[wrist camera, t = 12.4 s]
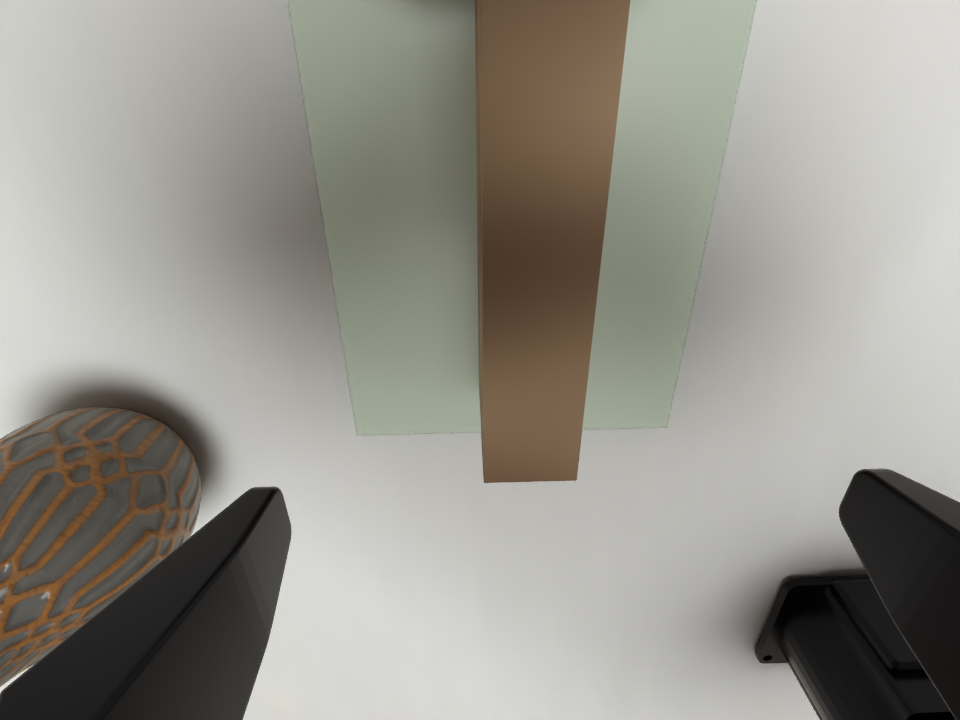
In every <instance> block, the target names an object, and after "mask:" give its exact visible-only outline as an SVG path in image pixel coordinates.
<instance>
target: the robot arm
mask: <svg viewBox="0 0 960 720" xmlns="http://www.w3.org/2000/svg"><path fill="white" fill-rule="evenodd" d="M839 517H840V521H841V523H842V525H843V527H844V529H845V531H846V533H847V535H848V537H849V539H850V541H851V543H852V545H853V546H854V548H855V550H856V552H857V554H858V556H859V558H860V560H861V562H862V564H863V566H864V568H865V569H866V571H867V573H868V575H869V576H857V577H826V578H796V579H791V580H788V581H787V582H786V583H785V584H784V585H783V587H782V589H781V592H780V594H779V596H778V599H777V601H776V603H775V606H774V608H773V610H772V613H771V615H770V617H769V620H768V622H767V624H766V627H765V629H764V631H763V634H762V636H761V638H760V641H759V643H758V645H757V648H756V650H755V655H756V657H757V658H758V660H759V662H761V663H788V664H789V665H790V667H791V669H792V671H793V672H794V674H795V676H796V678H797V680H798V681H799V683H800V685H801V687H802V689H803V690H804V692H805V694H806V696H807V698H808V699H809V701H810V703H811V705H812V706H813V708H814V710H815V712H816V714H817V715H818V717H819V719H820V720H960V502H958V501H955V500H953V499H951V498H949V497H947V496H945V495H943V494H941V493H939V492H936V491H934V490H932V489H930V488H928V487H926V486H924V485H922V484H920V483H918V482H915V481H913V480H911V479H909V478H907V477H905V476H903V475H901V474H899V473H896V472H894V471H892V470H889V469H863V470H859V471H858V472H857V473H855V475H854V476H853V478H852V480H851V482H850V485H849V487H848V489H847V491H846V493H845V495H844V498H843V500H842V502H841V504H840V507H839ZM290 540H291V523H290V520H289V516H288V512H287V508H286V505H285V501H284V497H283V494H282V492H281V490H280V489H279V488H277V487H255V488H251V489H249V490H248V491H246V492H245V493H244V494H243V495H241V496H240V497H239V498H238V499H236V500H235V501H234V502H233V503H232V504H230V505H229V506H228V507H227V508H225V509H224V510H223V511H222V512H221V513H219V514H218V515H217V516H216V517H214V518H213V519H212V520H211V521H209V522H208V523H207V524H206V525H205V526H203V527H202V528H201V529H200V530H198V531H197V532H196V533H195V534H194V535H192V536H191V537H190V538H189V539H187V540H186V541H185V542H184V543H183V544H181V545H180V546H179V547H178V548H176V549H175V550H174V551H173V552H171V553H170V554H169V555H168V556H167V557H165V558H164V559H163V560H162V561H160V562H159V563H158V564H157V565H156V566H154V567H153V568H152V569H151V570H149V571H148V572H147V573H146V574H145V575H143V576H142V577H141V578H140V579H138V580H137V581H136V582H135V583H133V584H132V585H131V586H130V587H129V588H127V589H126V590H125V591H124V592H122V593H121V594H120V595H119V596H118V597H116V598H115V599H114V600H113V601H111V602H110V603H109V604H108V605H107V606H105V607H104V608H103V609H102V610H100V611H99V612H98V613H97V614H95V615H94V616H93V617H92V618H91V619H89V620H88V621H87V622H86V623H84V624H83V625H82V626H81V627H80V628H78V629H77V630H76V631H75V632H73V633H72V634H71V635H70V636H69V637H67V638H66V639H65V640H64V641H62V642H61V643H60V644H59V645H57V646H56V647H55V648H54V649H53V650H51V651H50V652H49V653H48V654H46V655H45V656H44V657H43V658H42V659H40V660H39V661H38V662H37V663H35V664H34V665H33V666H32V667H30V668H29V669H28V670H27V671H26V672H24V673H23V674H22V675H21V676H19V677H18V678H17V679H16V680H15V681H13V682H12V683H11V684H10V685H8V686H7V687H6V688H5V689H4V690H3V691H2V692H1V693H0V720H243V717H244V714H245V711H246V708H247V705H248V702H249V699H250V696H251V693H252V690H253V687H254V683H255V680H256V677H257V674H258V671H259V668H260V665H261V662H262V659H263V656H264V653H265V650H266V646H267V643H268V640H269V636H270V632H271V628H272V623H273V619H274V614H275V610H276V605H277V601H278V596H279V591H280V587H281V582H282V577H283V573H284V568H285V564H286V559H287V554H288V550H289V545H290Z"/></svg>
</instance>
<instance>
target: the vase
mask: <svg viewBox="0 0 960 720" xmlns="http://www.w3.org/2000/svg"><path fill="white" fill-rule="evenodd" d="M200 500H201V478H200V474H199V470H198V467H197V464H196V461H195V459H194V457H193V455H192V453H191V451H190V450H189V448H188V447H187V445H186V444H185V443H184V441H183V440H182V439H181V438H180V437H179V436H178V435H177V434H176V433H175V432H174V431H173V430H172V429H170V428H169V427H168V426H166V425H165V424H163V423H162V422H160V421H158V420H156V419H154V418H152V417H150V416H147V415H144V414H141V413H138V412H134V411H130V410H125V409H120V408H111V407H89V408H78V409H73V410H68V411H64V412H60V413H56V414H53V415H50V416H47V417H45V418H42V419H39V420H36V421H34V422H32V423H29V424H27V425H25V426H23V427H21V428H19V429H17V430H15V431H13V432H11V433H9V434H8V435H6V436H5V437H3V438H1V439H0V687H1V686H2V685H4V684H5V683H6V682H8V681H9V680H10V679H12V678H13V677H15V676H16V675H17V674H19V673H21V672H22V671H24V670H25V669H27V668H29V667H30V666H32V665H34V664H35V663H37V662H38V661H39V660H40V659H42V658H43V657H44V656H45V655H46V654H48V653H49V652H50V651H51V650H53V649H54V648H55V647H56V646H57V645H59V644H60V643H61V642H62V641H64V640H65V639H66V638H67V637H69V636H70V635H71V634H72V633H73V632H75V631H76V630H77V629H78V628H80V627H81V626H82V625H83V624H84V623H86V622H87V621H88V620H89V619H91V618H92V617H93V616H94V615H95V614H97V613H98V612H99V611H100V610H102V609H103V608H104V607H105V606H107V605H108V604H109V603H110V602H111V601H113V600H114V599H115V598H116V597H118V596H119V595H120V594H121V593H122V592H124V591H125V590H126V589H127V588H129V587H130V586H131V585H132V584H133V583H135V582H136V581H137V580H138V579H140V578H141V577H142V576H143V575H145V574H146V573H147V572H148V571H149V570H151V569H152V568H153V567H154V566H156V565H157V564H158V563H159V562H160V561H162V560H163V559H164V558H165V557H167V556H168V555H169V554H170V553H171V552H173V551H174V550H175V549H176V548H178V547H179V546H180V545H181V544H183V543H184V542H185V541H186V540H187V539H189V538H190V536H191V534H192V532H193V529H194V526H195V523H196V520H197V516H198V513H199V507H200Z"/></svg>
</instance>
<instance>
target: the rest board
mask: <svg viewBox="0 0 960 720" xmlns="http://www.w3.org/2000/svg"><path fill="white" fill-rule="evenodd" d="M756 2H757V0H630V9H629V18H628V27H627V35H626V44H625V53H624V62H623V71H622V80H621V89H620V98H619V107H618V115H617V124H616V133H615V142H614V151H613V160H612V169H611V178H610V186H609V195H608V204H607V213H606V222H605V231H604V240H603V249H602V258H601V266H600V275H599V284H598V293H597V302H596V311H595V320H594V329H593V337H592V346H591V355H590V364H589V373H588V382H587V391H586V400H585V409H584V417H583V426H582V430H590V429H629V428H667V424H668V419H669V415H670V410H671V405H672V400H673V396H674V391H675V386H676V381H677V377H678V372H679V367H680V363H681V358H682V353H683V348H684V344H685V339H686V334H687V329H688V325H689V320H690V315H691V310H692V306H693V301H694V296H695V291H696V287H697V282H698V277H699V272H700V268H701V263H702V258H703V253H704V249H705V244H706V239H707V234H708V230H709V225H710V220H711V215H712V211H713V206H714V201H715V196H716V192H717V187H718V182H719V177H720V173H721V168H722V163H723V158H724V154H725V149H726V144H727V139H728V135H729V130H730V125H731V120H732V116H733V111H734V106H735V101H736V97H737V92H738V87H739V82H740V78H741V73H742V68H743V63H744V59H745V54H746V49H747V44H748V40H749V35H750V30H751V25H752V21H753V16H754V11H755V6H756ZM288 6H289V12H290V18H291V24H292V31H293V37H294V43H295V50H296V56H297V62H298V68H299V75H300V81H301V87H302V94H303V100H304V106H305V112H306V119H307V125H308V131H309V137H310V144H311V150H312V156H313V163H314V169H315V175H316V181H317V188H318V194H319V200H320V206H321V213H322V219H323V225H324V232H325V238H326V244H327V250H328V257H329V263H330V269H331V275H332V282H333V288H334V294H335V301H336V307H337V313H338V319H339V326H340V332H341V338H342V344H343V351H344V357H345V363H346V370H347V376H348V382H349V388H350V395H351V401H352V407H353V414H354V420H355V426H356V432H357V435H393V434H432V433H472V432H481V418H480V398H479V343H478V243H477V142H476V41H475V0H288Z"/></svg>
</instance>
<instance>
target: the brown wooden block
mask: <svg viewBox="0 0 960 720" xmlns="http://www.w3.org/2000/svg"><path fill="white" fill-rule="evenodd" d="M629 9H630V0H475V41H476V142H477V243H478V343H479V398H480V418H481V437H482V457H483V476H484V483H494V482H532V481H570V480H577V471H578V462H579V453H580V444H581V435H582V426H583V417H584V409H585V400H586V391H587V382H588V373H589V364H590V355H591V346H592V337H593V329H594V320H595V311H596V302H597V293H598V284H599V275H600V266H601V258H602V249H603V240H604V231H605V222H606V213H607V204H608V195H609V186H610V178H611V169H612V160H613V151H614V142H615V133H616V124H617V115H618V107H619V98H620V89H621V80H622V71H623V62H624V53H625V44H626V35H627V27H628V18H629Z"/></svg>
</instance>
